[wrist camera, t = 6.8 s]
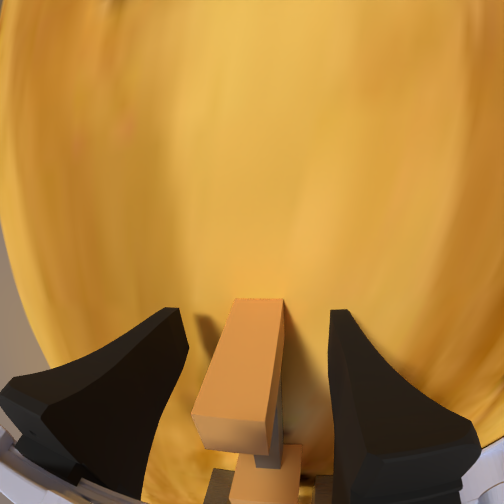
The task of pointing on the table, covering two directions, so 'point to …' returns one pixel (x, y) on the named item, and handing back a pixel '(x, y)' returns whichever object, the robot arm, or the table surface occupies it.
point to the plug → (250, 405)
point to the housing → (222, 481)
